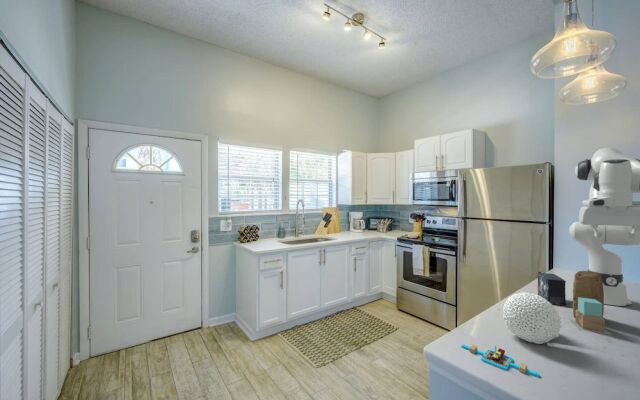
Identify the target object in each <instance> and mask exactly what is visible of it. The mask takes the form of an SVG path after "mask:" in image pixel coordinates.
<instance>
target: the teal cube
mask: <svg viewBox="0 0 640 400" xmlns="http://www.w3.org/2000/svg"><path fill="white" fill-rule="evenodd" d="M578 311H580V312H581V313H582V314H583V315H587V316H594V317H601V318H602V303H600V302H598V301H597V300H595V299H588V298H580V297H578Z"/></svg>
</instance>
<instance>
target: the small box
mask: <svg viewBox="0 0 640 400" xmlns="http://www.w3.org/2000/svg"><path fill="white" fill-rule="evenodd" d="M537 295H539V296H541V297H543V298H545V299H546V300H547V301H548V302H550V303H551V304H552V305H557V306H563V307H564V306H565V307H566V306H567V305H566V304H567V303H566V297H567V296H566V280H565V279H563V278H562V277H560V276H558V275H557V274H556V273H549V272H537Z"/></svg>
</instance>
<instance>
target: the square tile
mask: <svg viewBox="0 0 640 400" xmlns="http://www.w3.org/2000/svg"><path fill="white" fill-rule="evenodd" d="M569 322H570V323H572V324H573V325H574V326H575V327H576V328H577V329H578V330H579V331H586V332H591V333H597V334H603V335H609V336H613V334H612V333H611V332H610V331H608V330H607V329H606V328H605V332H600V331H594V330H588V329H583V328H581V327H580V326H579V325H578V324H577V323H576V320H573V319H569Z"/></svg>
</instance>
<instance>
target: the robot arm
mask: <svg viewBox="0 0 640 400" xmlns="http://www.w3.org/2000/svg"><path fill="white" fill-rule="evenodd" d="M574 174H575V176H576V177H577V179H579V180H581V181H592V182H591V185H590V188H589V193H588V198H587V199H584V200H582V201H581V204H582V206H581V208H580V209H579V213H578V221H574V222H573V223H572V224H571V225H570V226H569V229H568V232H569V235H570V237H571V239H573V240H574V241H576V242H578V243H579V244H580V246H582V247H583V248H584V249H585V251H586V254H587V259H588V269H587V271H591V272H596V273H600V274H601V276H602V283H603V291H604V305H610V306H618V307H621V306H622V307H624V306H627V305H633V304H632V301H630V300H629V297H628V289H627V286H626V285H625V284H624V283H623V282H624V275H623V273H622V267H623V266H622V265H623V264H622V263H623V262H622V258H621V256H619V255H618V254H617V253H614V252H612V251H610V250H608V249H606V248H604V247H603V245H614V246H615V245H616V246H639V245H640V201H633V200H634V199H633V198H634V197H633V195H634V194H635V193H637V194H640V159H638V158H634V157H631V156H628V155H625V154H624V153H623V152H622V151H620V150H619V149H618V148H614V147H609V146H607V147H602V148H600V149H598V150H596V151H595V152H594V153H593V154H592V157H591V158H590V159H588V158H585V160H582V161H579V162H578V163H577V165H576V166H575V168H574Z"/></svg>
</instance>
